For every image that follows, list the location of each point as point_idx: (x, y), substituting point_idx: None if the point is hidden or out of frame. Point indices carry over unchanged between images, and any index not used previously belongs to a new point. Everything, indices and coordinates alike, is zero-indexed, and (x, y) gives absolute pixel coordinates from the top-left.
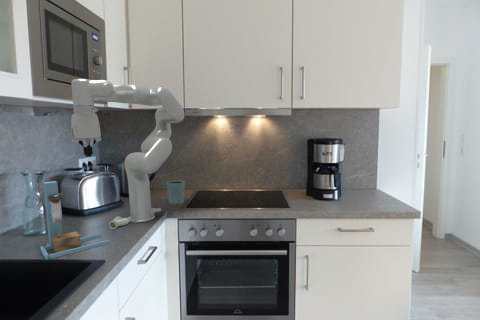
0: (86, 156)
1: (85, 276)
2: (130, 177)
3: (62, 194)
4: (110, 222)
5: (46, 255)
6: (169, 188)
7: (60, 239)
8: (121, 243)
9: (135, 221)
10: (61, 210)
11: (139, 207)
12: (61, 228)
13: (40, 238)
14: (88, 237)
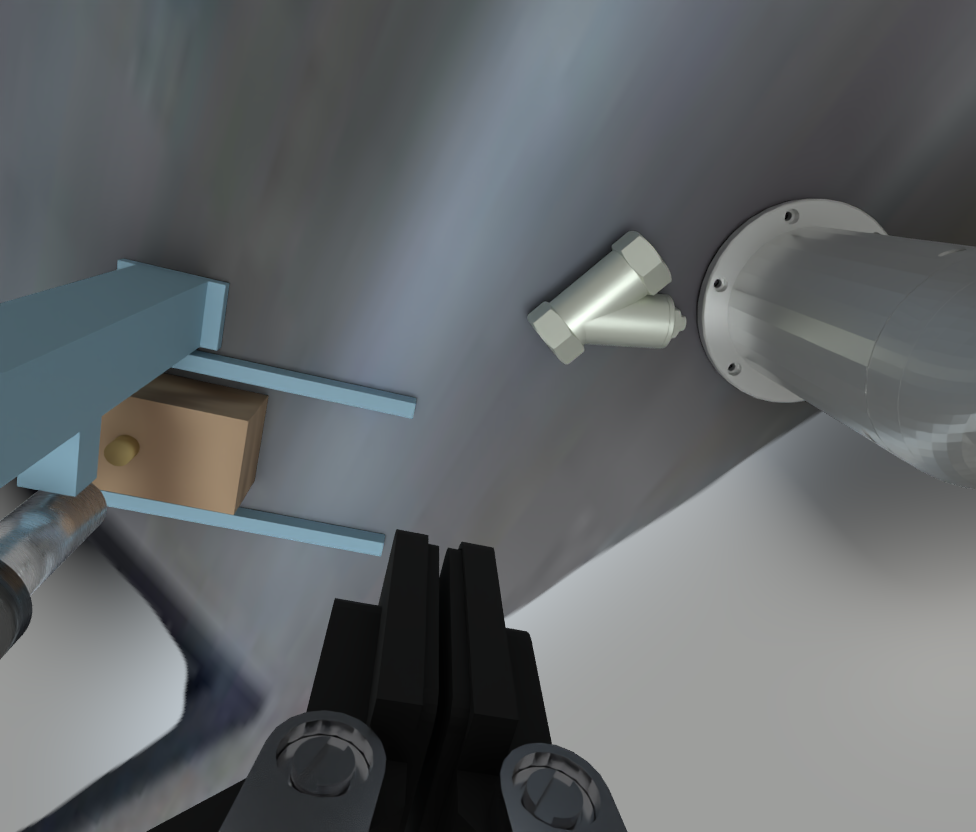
0: (379, 604)
1: (141, 771)
2: (955, 418)
3: (4, 652)
4: (540, 336)
5: None
6: None
7: (123, 491)
8: None
9: (708, 354)
10: (64, 559)
11: (788, 389)
12: (162, 370)
13: (134, 45)
14: (336, 402)
